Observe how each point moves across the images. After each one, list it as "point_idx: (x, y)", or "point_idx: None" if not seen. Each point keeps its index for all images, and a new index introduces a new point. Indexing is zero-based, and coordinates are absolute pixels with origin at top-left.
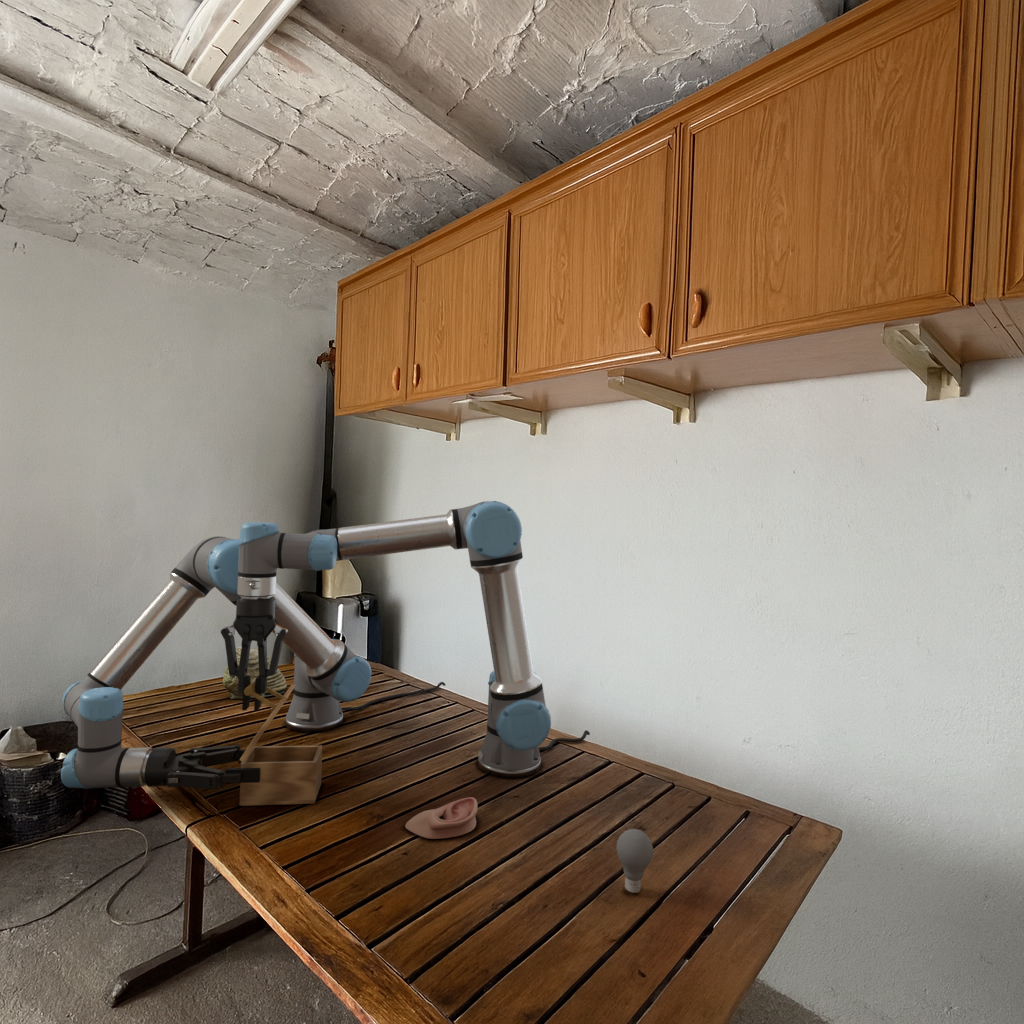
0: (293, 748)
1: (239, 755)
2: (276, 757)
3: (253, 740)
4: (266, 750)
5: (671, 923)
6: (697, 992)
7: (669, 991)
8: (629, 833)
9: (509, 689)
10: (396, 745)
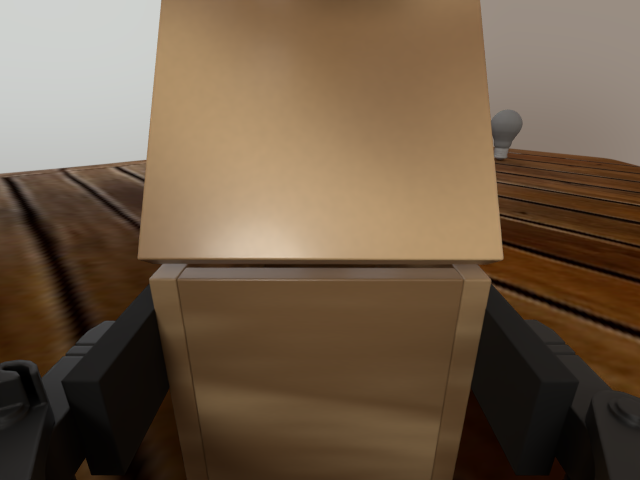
0: None
1: (112, 413)
2: (229, 267)
3: (485, 85)
4: None
5: (529, 157)
6: (596, 159)
7: (606, 162)
8: (512, 111)
9: None
10: (87, 220)
